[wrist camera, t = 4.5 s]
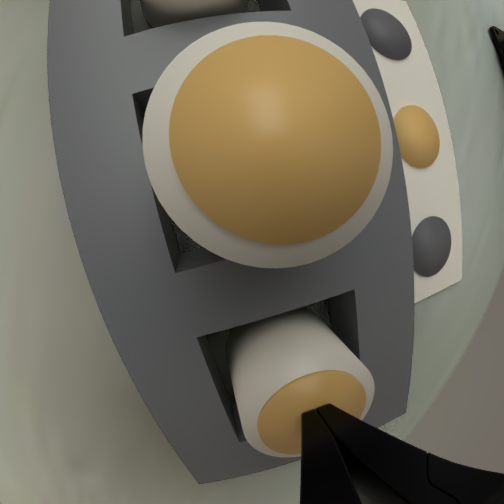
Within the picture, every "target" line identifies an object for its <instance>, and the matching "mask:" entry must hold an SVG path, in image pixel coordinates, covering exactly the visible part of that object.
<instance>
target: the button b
mask: <svg viewBox="0 0 504 504" xmlns="http://www.w3.org/2000/svg"><path fill="white" fill-rule="evenodd" d="M143 154H144V161H145V167H146V170H147V173H148V176H149V180H150V183H151V185H152V187H153V190H154V192H155V194H156V196H157V198H158V200H159V202H160V203H161V205H162V206H163V208H164V209H165V211H166V212H167V214H168V215H169V216H170V218H171V219H172V220H173V221H174V222H175V223H176V225H177V226H178V227H179V228H180V229H181V230H182V231H183V232H184V233H186V234H187V235H188V236H189V237H190V238H191V239H192V240H194V241H195V242H196V243H198V244H199V245H201V246H202V247H204V248H205V249H207V250H209V251H210V252H212V253H214V254H216V255H218V256H221V257H223V258H225V259H227V260H230V261H233V262H236V263H240V264H243V265H248V266H254V267H259V268H288V267H296V266H300V265H305V264H309V263H312V262H315V261H317V260H320V259H323V258H325V257H327V256H329V255H331V254H333V253H334V252H336V251H338V250H340V249H341V248H342V247H344V246H345V245H347V244H348V243H349V242H351V241H352V240H353V239H354V238H355V237H356V236H357V235H358V234H359V233H360V232H361V231H362V230H363V229H364V228H365V227H366V225H367V224H368V223H369V222H370V221H371V219H372V218H373V216H374V214H375V213H376V211H377V210H378V208H379V206H380V204H381V202H382V200H383V197H384V195H385V193H386V189H387V186H388V183H389V180H390V175H391V169H392V161H393V140H392V132H391V126H390V121H389V118H388V114H387V111H386V108H385V105H384V103H383V101H382V98H381V96H380V94H379V92H378V90H377V89H376V87H375V85H374V84H373V82H372V80H371V79H370V78H369V76H368V75H367V74H366V72H365V71H364V70H363V68H362V67H361V66H360V65H359V64H358V63H357V62H356V61H355V60H354V59H353V58H352V57H351V56H350V55H349V54H348V53H346V52H345V51H344V50H343V49H342V48H340V47H339V46H337V45H336V44H334V43H333V42H331V41H330V40H328V39H326V38H324V37H322V36H320V35H318V34H316V33H314V32H312V31H309V30H307V29H304V28H301V27H298V26H293V25H289V24H285V23H277V22H247V23H241V24H235V25H231V26H228V27H224V28H221V29H218V30H216V31H214V32H211V33H209V34H207V35H205V36H203V37H201V38H200V39H198V40H196V41H195V42H193V43H192V44H190V45H189V46H188V47H186V48H185V49H184V50H183V51H182V52H180V53H179V54H178V55H177V56H176V57H175V58H174V59H173V61H172V62H171V63H170V64H169V65H168V66H167V67H166V69H165V70H164V72H163V73H162V75H161V76H160V78H159V79H158V81H157V83H156V85H155V87H154V89H153V91H152V93H151V95H150V98H149V101H148V105H147V108H146V111H145V117H144V123H143Z"/></svg>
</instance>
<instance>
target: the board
mask: <svg viewBox="0 0 504 504" xmlns="http://www.w3.org/2000/svg"><path fill="white" fill-rule="evenodd" d="M258 2H259V5H260V8H261V11H262V12H247V13H236V14H227V15H219V16H212V17H205V18H199V19H194V20H188V21H183V22H178V23H174V24H169V25H165V26H161V27H157V28H153V29H149V30H145V31H142V32H138V33H135V34H133V28H132V20H131V11H130V1H129V0H50V8H49V20H48V43H47V68H48V91H49V104H50V115H51V124H52V132H53V140H54V146H55V153H56V159H57V164H58V170H59V175H60V180H61V185H62V190H63V194H64V198H65V203H66V207H67V211H68V215H69V219H70V222H71V226H72V230H73V233H74V237H75V240H76V244H77V247H78V250H79V253H80V257H81V260H82V263H83V266H84V269H85V272H86V275H87V277H88V280H89V283H90V286H91V288H92V291H93V294H94V296H95V299H96V302H97V304H98V307H99V309H100V312H101V314H102V317H103V319H104V321H105V324H106V326H107V328H108V331H109V333H110V335H111V337H112V340H113V342H114V344H115V346H116V348H117V350H118V353H119V355H120V357H121V359H122V361H123V363H124V365H125V367H126V369H127V371H128V373H129V375H130V377H131V379H132V380H133V382H134V384H135V386H136V388H137V390H138V392H139V393H140V395H141V397H142V399H143V401H144V402H145V404H146V406H147V408H148V409H149V411H150V413H151V414H152V416H153V418H154V419H155V421H156V423H157V424H158V426H159V427H160V429H161V431H162V432H163V434H164V435H165V437H166V438H167V440H168V441H169V443H170V444H171V446H172V447H173V449H174V450H175V452H176V453H177V455H178V456H179V458H180V459H181V460H182V462H183V463H184V465H185V466H186V467H187V469H188V470H189V471H190V473H191V474H192V475H193V477H194V478H195V479H196V481H197V482H198V483H199V484H203V483H209V482H215V481H220V480H225V479H230V478H235V477H239V476H244V475H248V474H252V473H256V472H260V471H264V470H268V469H271V468H275V467H278V466H281V465H285V464H288V463H291V462H294V461H297V460H300V459H301V456H299V457H289V458H286V457H274V456H270V455H267V454H264V453H261V452H260V451H258V450H256V449H255V448H253V447H252V446H251V445H250V444H249V443H248V441H247V440H246V438H245V436H244V433H243V429H242V425H241V420H240V416H239V412H238V408H237V403H236V402H232V403H231V402H230V400H229V397H228V394H227V392H226V389H225V387H224V384H223V381H222V379H221V376H220V373H219V371H218V368H217V365H216V362H215V360H214V357H213V354H212V351H211V348H210V346H209V343H208V340H207V337H206V335H207V334H211V333H215V332H219V331H222V330H226V329H230V328H233V327H237V326H241V325H244V324H248V323H251V322H255V321H258V320H261V319H265V318H268V317H271V316H275V315H278V314H281V313H285V312H288V311H291V310H294V309H297V308H300V307H304V306H307V305H310V304H313V303H316V302H319V301H322V300H325V299H328V304H329V312H330V319H331V327H332V331H333V333H334V334H335V335H336V336H337V337H338V338H339V339H340V340H341V341H342V342H343V343H344V344H345V345H346V346H347V347H348V348H349V350H350V351H351V352H352V353H353V354H354V355H355V356H356V357H357V358H358V359H359V360H360V361H361V362H362V363H363V364H364V365H365V366H366V368H367V369H368V370H369V371H370V373H371V375H372V377H373V380H374V386H375V391H374V397H373V401H372V404H371V406H370V408H369V410H368V412H367V414H366V415H365V417H364V418H363V420H362V421H364V422H366V423H368V424H370V425H372V426H374V427H376V428H378V427H380V426H382V425H384V424H385V423H387V422H389V421H391V420H393V419H395V418H397V417H399V416H400V415H402V414H404V413H406V407H407V400H408V393H409V385H410V376H411V365H412V353H413V336H414V262H413V245H412V232H411V222H410V212H409V204H408V196H407V189H406V182H405V176H404V170H403V164H402V158H401V153H400V148H399V143H398V138H397V134H396V129H395V125H394V121H393V117H392V113H391V109H390V105H389V101H388V97H387V94H386V90H385V87H384V83H383V80H382V77H381V74H380V70H379V67H378V64H377V61H376V58H375V55H374V53H373V50H372V47H371V44H370V41H369V39H368V36H367V34H366V31H365V29H364V26H363V24H362V21H361V19H360V16H359V14H358V12H357V9H356V7H355V5H354V3H353V0H258ZM247 22H277V23H285V24H289V25H293V26H298V27H301V28H304V29H307V30H309V31H312V32H314V33H316V34H318V35H320V36H322V37H324V38H326V39H328V40H330V41H331V42H333V43H334V44H336V45H337V46H339V47H340V48H342V49H343V50H344V51H345V52H346V53H348V54H349V55H350V56H351V57H352V58H353V59H354V60H355V61H356V62H357V63H358V64H359V65H360V66H361V67H362V68H363V70H364V71H365V72H366V74H367V75H368V76H369V78H370V79H371V80H372V82H373V84H374V85H375V87H376V89H377V90H378V92H379V94H380V96H381V98H382V101H383V103H384V105H385V108H386V111H387V114H388V118H389V121H390V126H391V132H392V140H393V161H392V169H391V175H390V180H389V183H388V186H387V189H386V193H385V195H384V197H383V200H382V202H381V204H380V206H379V208H378V210H377V211H376V213H375V214H374V216H373V218H372V219H371V221H370V222H369V223H368V224H367V225H366V227H365V228H364V229H363V230H362V231H361V232H360V233H359V234H358V235H357V236H356V237H355V238H354V239H353V240H352V241H351V242H349V243H348V244H347V245H345V246H344V247H342V248H341V249H340V250H338V251H336V252H334V253H333V254H331V255H329V256H327V257H325V258H323V259H320V260H317V261H315V262H312V263H309V264H305V265H300V266H296V267H288V268H259V267H254V266H248V265H243V264H240V263H236V262H233V261H230V260H227V259H225V258H223V257H221V256H218V255H216V254H214V253H212V252H210V251H209V250H207V249H205V248H204V247H201V248H198V249H194V250H190V251H186V252H183V253H180V251H179V248H178V244H177V241H176V237H175V234H174V230H173V226H172V223H171V219H170V216H169V215H168V214H167V212H166V211H165V209H164V208H163V206H162V205H161V203H160V202H159V200H158V198H157V196H156V194H155V192H154V190H153V187H152V185H151V183H150V180H149V176H148V173H147V170H146V167H145V161H144V154H143V123H144V117H145V111H146V108H147V105H148V101H149V98H150V95H151V93H152V91H153V89H154V87H155V85H156V83H157V81H158V79H159V78H160V76H161V75H162V73H163V72H164V70H165V69H166V67H167V66H168V65H169V64H170V63H171V62H172V61H173V59H174V58H175V57H176V56H177V55H178V54H179V53H180V52H182V51H183V50H184V49H185V48H186V47H188V46H189V45H190V44H192V43H193V42H195V41H196V40H198V39H200V38H201V37H203V36H205V35H207V34H209V33H211V32H214V31H216V30H218V29H221V28H224V27H228V26H231V25H235V24H241V23H247Z"/></svg>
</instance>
